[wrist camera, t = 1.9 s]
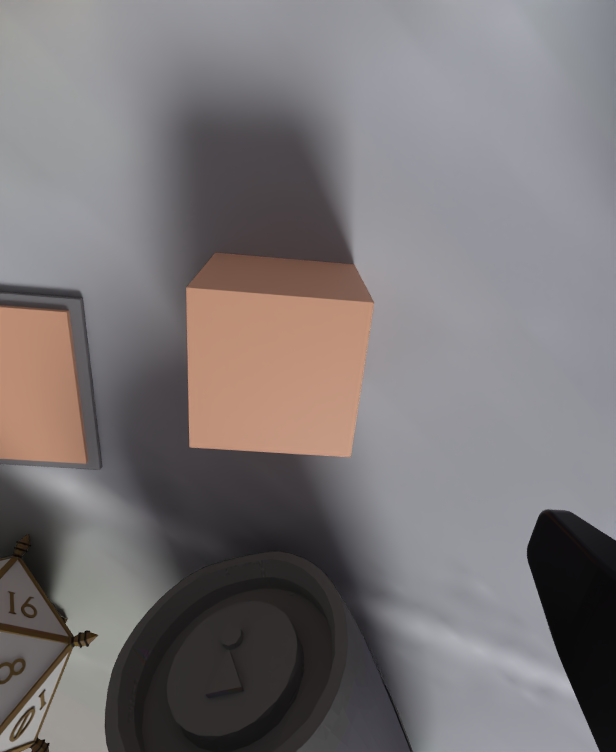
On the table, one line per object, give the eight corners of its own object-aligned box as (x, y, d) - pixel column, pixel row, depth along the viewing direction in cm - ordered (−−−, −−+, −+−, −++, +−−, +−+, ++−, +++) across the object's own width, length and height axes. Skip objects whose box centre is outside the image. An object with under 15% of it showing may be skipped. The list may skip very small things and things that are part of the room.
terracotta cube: (353, 263, 16) (374, 302, 11) (337, 386, 17) (350, 457, 13) (215, 252, 15) (186, 287, 11) (215, 377, 17) (189, 447, 13)
